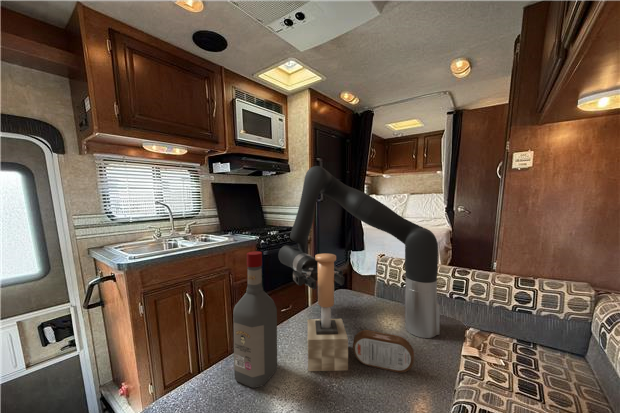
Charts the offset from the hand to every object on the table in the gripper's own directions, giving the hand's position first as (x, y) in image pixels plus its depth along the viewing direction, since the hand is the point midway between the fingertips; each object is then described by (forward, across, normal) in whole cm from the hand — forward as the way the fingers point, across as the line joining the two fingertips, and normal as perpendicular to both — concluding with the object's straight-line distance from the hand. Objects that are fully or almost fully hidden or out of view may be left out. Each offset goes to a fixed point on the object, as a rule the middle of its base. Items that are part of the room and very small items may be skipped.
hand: (329, 283), depth 61 cm
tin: (+7, +12, +21) cm, 25 cm away
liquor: (-3, -19, +21) cm, 28 cm away
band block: (-2, 0, +21) cm, 21 cm away
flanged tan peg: (-2, 0, +14) cm, 14 cm away
